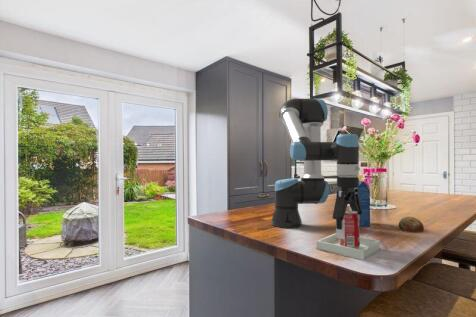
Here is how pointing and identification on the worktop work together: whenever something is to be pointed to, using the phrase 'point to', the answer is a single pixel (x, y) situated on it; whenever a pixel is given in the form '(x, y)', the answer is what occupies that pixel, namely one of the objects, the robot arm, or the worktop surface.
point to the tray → (361, 252)
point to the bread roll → (411, 225)
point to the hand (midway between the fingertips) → (348, 234)
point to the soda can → (351, 230)
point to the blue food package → (364, 203)
